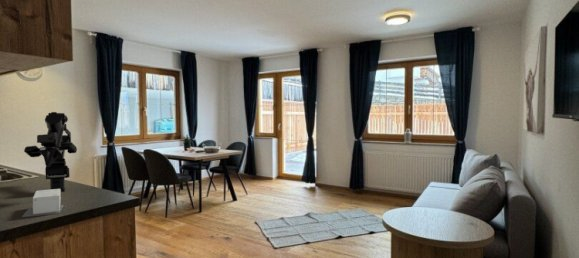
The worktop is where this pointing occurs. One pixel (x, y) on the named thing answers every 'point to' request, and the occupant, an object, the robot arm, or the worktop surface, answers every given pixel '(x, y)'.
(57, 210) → the small box
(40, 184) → the worktop surface
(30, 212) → the grey square plate
